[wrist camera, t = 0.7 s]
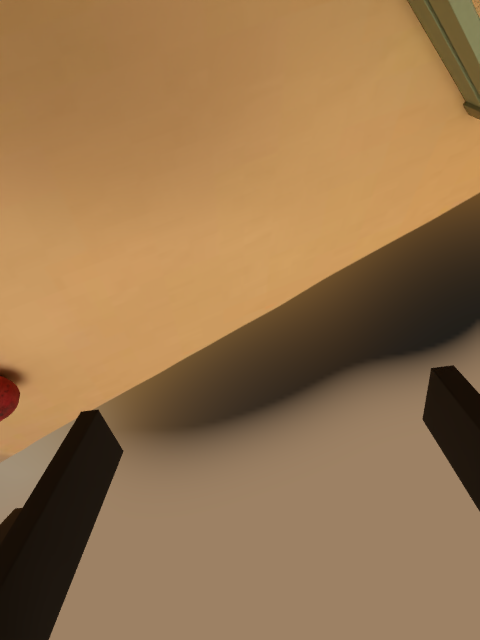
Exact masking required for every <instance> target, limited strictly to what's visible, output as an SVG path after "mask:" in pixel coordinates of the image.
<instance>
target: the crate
mask: <svg viewBox="0 0 480 640" xmlns="http://www.w3.org/2000/svg"><path fill="white" fill-rule="evenodd" d="M408 2H409V4H410V5H411V7H412V9H413V11H414V12H415V14H416V16H417V17H418V19H419V21H420V23H421V24H422V26H423V28H424V30H425V31H426V33H427V35H428V36H429V38H430V40H431V42H432V43H433V45H434V47H435V49H436V50H437V52H438V54H439V55H440V57H441V59H442V61H443V62H444V64H445V66H446V68H447V69H448V71H449V73H450V74H451V76H452V78H453V80H454V81H455V83H456V85H457V87H458V88H459V90H460V92H461V93H462V95H463V97H464V99H465V100H466V102H465V103H464V107H465V108H466V110H467V112H468V114H469V115H471V116H473V117H475V118H477V119H480V19H479V16H478V14H477V12H476V10H475V7H474V5H473V3H472V0H408Z"/></svg>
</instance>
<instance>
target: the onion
mask: <svg viewBox="0 0 480 640" xmlns="http://www.w3.org/2000/svg"><path fill="white" fill-rule="evenodd" d="M19 397H20V392H19V389H18V387H17V386H16V385H15V384H14V383H13V382H12V381H10V380H8V379H6V378H5V377H3V376H0V421H2V420H3V419H5V418H6V417H8V416H9V415H10V414H11V413H12V412H13V411H14V410H15V409H16V407H17V405H18V403H19Z"/></svg>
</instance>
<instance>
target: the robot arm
mask: <svg viewBox="0 0 480 640" xmlns="http://www.w3.org/2000/svg"><path fill="white" fill-rule="evenodd" d="M423 421H424V422H425V424H426V426H427V427H428V429H429V431H430V432H431V434H432V435H433V437H434V439H435V440H436V442H437V443H438V445H439V447H440V448H441V450H442V451H443V453H444V455H445V456H446V458H447V459H448V461H449V463H450V464H451V466H452V468H453V469H454V471H455V472H456V474H457V476H458V477H459V479H460V480H461V482H462V484H463V485H464V487H465V489H466V490H467V492H468V493H469V495H470V497H471V498H472V500H473V501H474V503H475V505H476V506H477V508H478V509H479V511H480V394H479V393H478V392H477V391H476V390H475V389H474V388H473V386H472V385H471V384H470V383H469V382H468V381H467V380H466V379H465V378H464V376H463V375H462V374H461V373H460V372H459V371H458V370H457V369H456V368H455V367H454V366H445V367H437V368H431V373H430V379H429V385H428V391H427V396H426V402H425V408H424V414H423ZM122 454H123V450H122V448H121V446H120V445H119V443H118V441H117V440H116V438H115V436H114V435H113V433H112V432H111V430H110V428H109V427H108V425H107V423H106V422H105V420H104V418H103V417H102V415H101V413H100V412H99V410H91V411H83V412H81V413H80V415H79V416H78V418H77V419H76V421H75V423H74V425H73V426H72V428H71V429H70V431H69V433H68V434H67V436H66V438H65V439H64V441H63V442H62V444H61V446H60V447H59V449H58V451H57V452H56V454H55V456H54V457H53V459H52V461H51V462H50V464H49V465H48V467H47V469H46V470H45V472H44V474H43V475H42V477H41V479H40V480H39V482H38V484H37V485H36V487H35V488H34V490H33V492H32V494H31V495H30V497H29V498H28V500H27V502H26V503H25V505H24V507H23V508H17V509H14V510H13V511H12V513H11V514H10V515H9V516H8V517H7V518H6V519H5V520H4V521H3V522H2V523H1V524H0V640H49V637H50V635H51V632H52V630H53V627H54V625H55V622H56V620H57V617H58V615H59V612H60V610H61V607H62V604H63V602H64V599H65V597H66V594H67V592H68V589H69V587H70V584H71V582H72V579H73V577H74V574H75V572H76V569H77V567H78V564H79V562H80V559H81V557H82V554H83V552H84V549H85V547H86V544H87V542H88V539H89V536H90V534H91V532H92V529H93V527H94V524H95V522H96V519H97V516H98V514H99V511H100V509H101V506H102V504H103V501H104V499H105V496H106V494H107V491H108V489H109V486H110V484H111V481H112V479H113V476H114V473H115V471H116V469H117V466H118V464H119V461H120V458H121V456H122Z"/></svg>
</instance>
